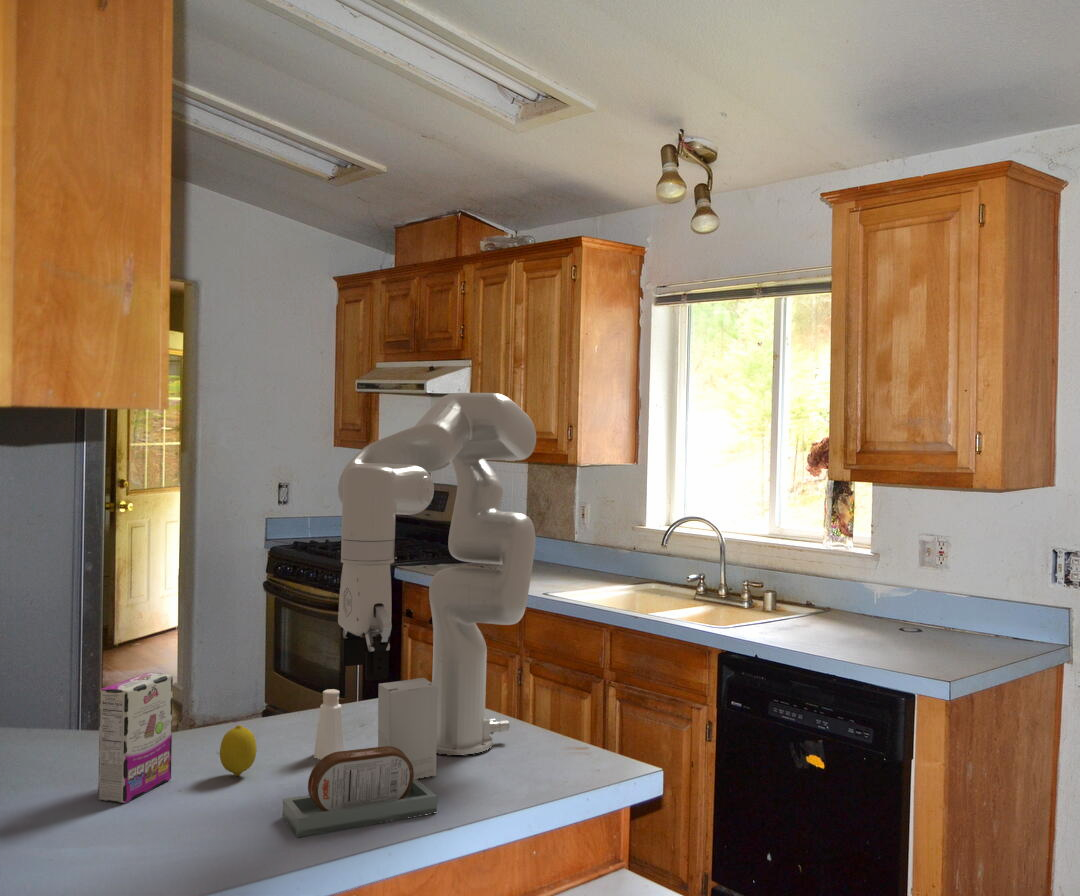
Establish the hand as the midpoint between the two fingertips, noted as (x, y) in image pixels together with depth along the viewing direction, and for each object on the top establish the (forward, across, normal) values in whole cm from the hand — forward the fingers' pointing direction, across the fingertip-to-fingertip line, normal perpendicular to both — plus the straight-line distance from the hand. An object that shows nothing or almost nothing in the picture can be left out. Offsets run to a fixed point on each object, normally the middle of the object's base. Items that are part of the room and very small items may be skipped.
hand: (364, 672), depth 135 cm
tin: (+20, 0, 0) cm, 20 cm away
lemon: (+20, -24, -12) cm, 34 cm away
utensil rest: (+20, 0, 0) cm, 20 cm away
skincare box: (+21, -13, +12) cm, 27 cm away
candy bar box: (+20, -24, -27) cm, 41 cm away
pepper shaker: (+21, -28, +4) cm, 35 cm away
